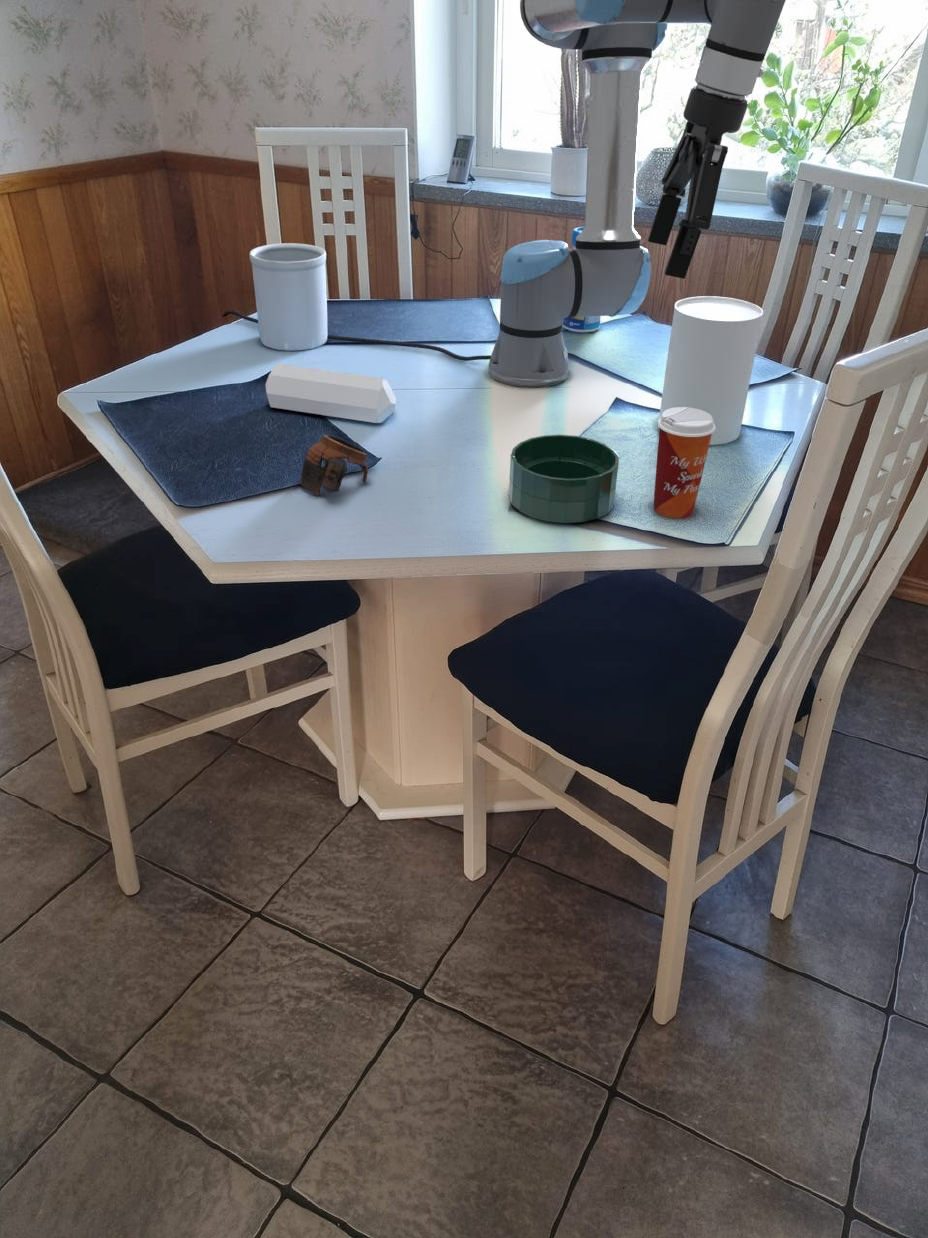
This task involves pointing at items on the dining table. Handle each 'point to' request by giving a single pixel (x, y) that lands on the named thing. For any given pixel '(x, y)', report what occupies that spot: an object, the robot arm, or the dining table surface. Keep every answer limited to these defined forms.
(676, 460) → the paper cup
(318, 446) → the leather tool belt
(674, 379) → the canister
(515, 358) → the robot arm
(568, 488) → the green pet bowl
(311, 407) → the crystal
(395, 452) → the dining table surface
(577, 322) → the beverage bottle
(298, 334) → the utensil holder
